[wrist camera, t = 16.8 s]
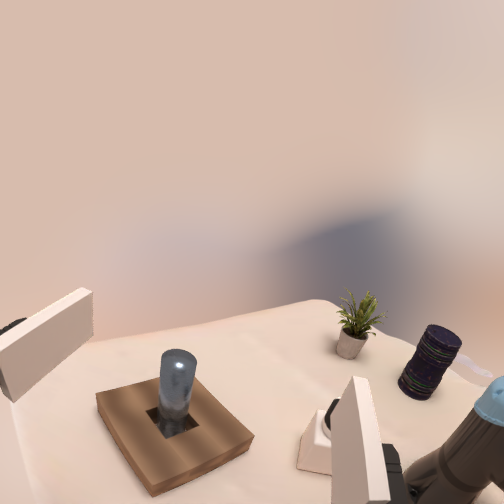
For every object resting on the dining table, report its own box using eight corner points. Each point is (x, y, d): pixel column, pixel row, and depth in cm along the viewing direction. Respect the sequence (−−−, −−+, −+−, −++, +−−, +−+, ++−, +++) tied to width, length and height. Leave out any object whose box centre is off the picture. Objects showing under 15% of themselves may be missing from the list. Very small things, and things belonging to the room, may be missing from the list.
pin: (174, 421, 38) (184, 345, 34) (189, 439, 35) (203, 366, 31) (151, 429, 35) (155, 353, 31) (166, 449, 32) (173, 375, 28)
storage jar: (430, 383, 59) (459, 333, 55) (431, 405, 50) (465, 351, 46) (398, 370, 63) (425, 319, 59) (395, 392, 55) (427, 336, 50)
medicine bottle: (340, 477, 32) (380, 429, 29) (295, 469, 33) (329, 420, 30) (341, 444, 39) (375, 395, 36) (301, 435, 40) (330, 384, 37)
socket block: (184, 385, 46) (187, 368, 45) (247, 450, 36) (254, 435, 35) (98, 410, 35) (95, 393, 33) (152, 497, 24) (152, 485, 23)
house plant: (319, 329, 77) (340, 274, 72) (366, 343, 74) (389, 289, 69) (315, 357, 63) (340, 294, 59) (370, 373, 61) (400, 312, 56)
